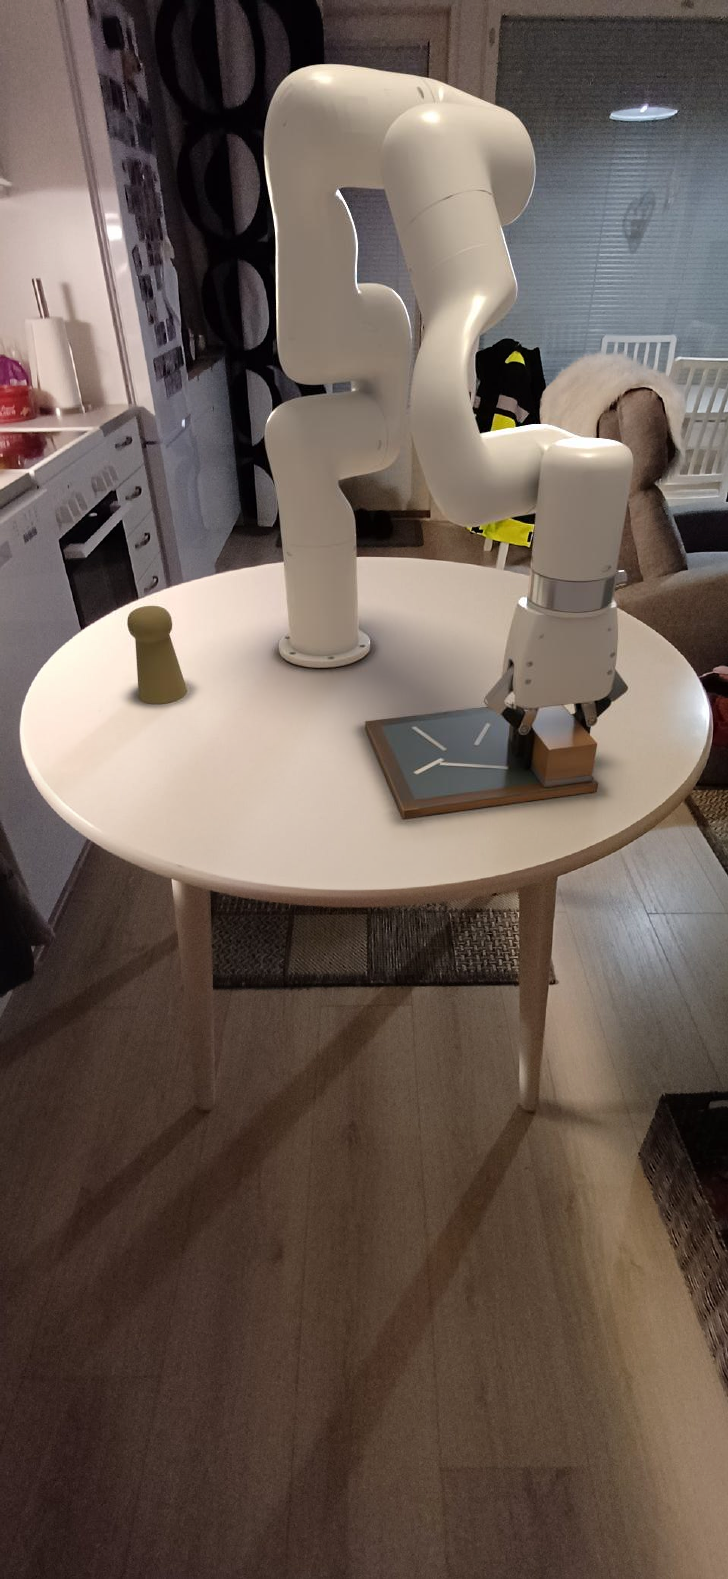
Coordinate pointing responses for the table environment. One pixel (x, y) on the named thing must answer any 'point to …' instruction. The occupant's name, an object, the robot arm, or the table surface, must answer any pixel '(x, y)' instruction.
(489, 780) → the chalkboard
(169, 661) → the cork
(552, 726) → the eraser
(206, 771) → the table surface
